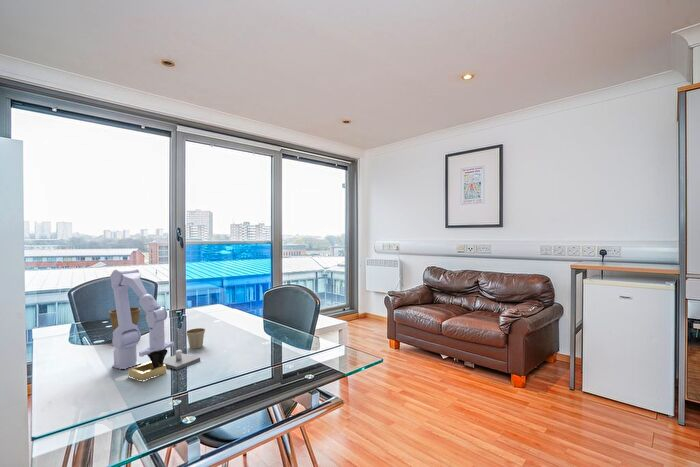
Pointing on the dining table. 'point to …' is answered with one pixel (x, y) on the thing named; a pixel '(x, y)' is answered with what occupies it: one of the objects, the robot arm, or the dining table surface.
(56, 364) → the dining table surface
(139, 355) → the robot arm
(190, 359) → the grey piece
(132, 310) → the plant pot
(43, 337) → the dining table surface
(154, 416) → the dining table surface
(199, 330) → the flower pot
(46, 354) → the dining table surface
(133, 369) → the gold square frame
